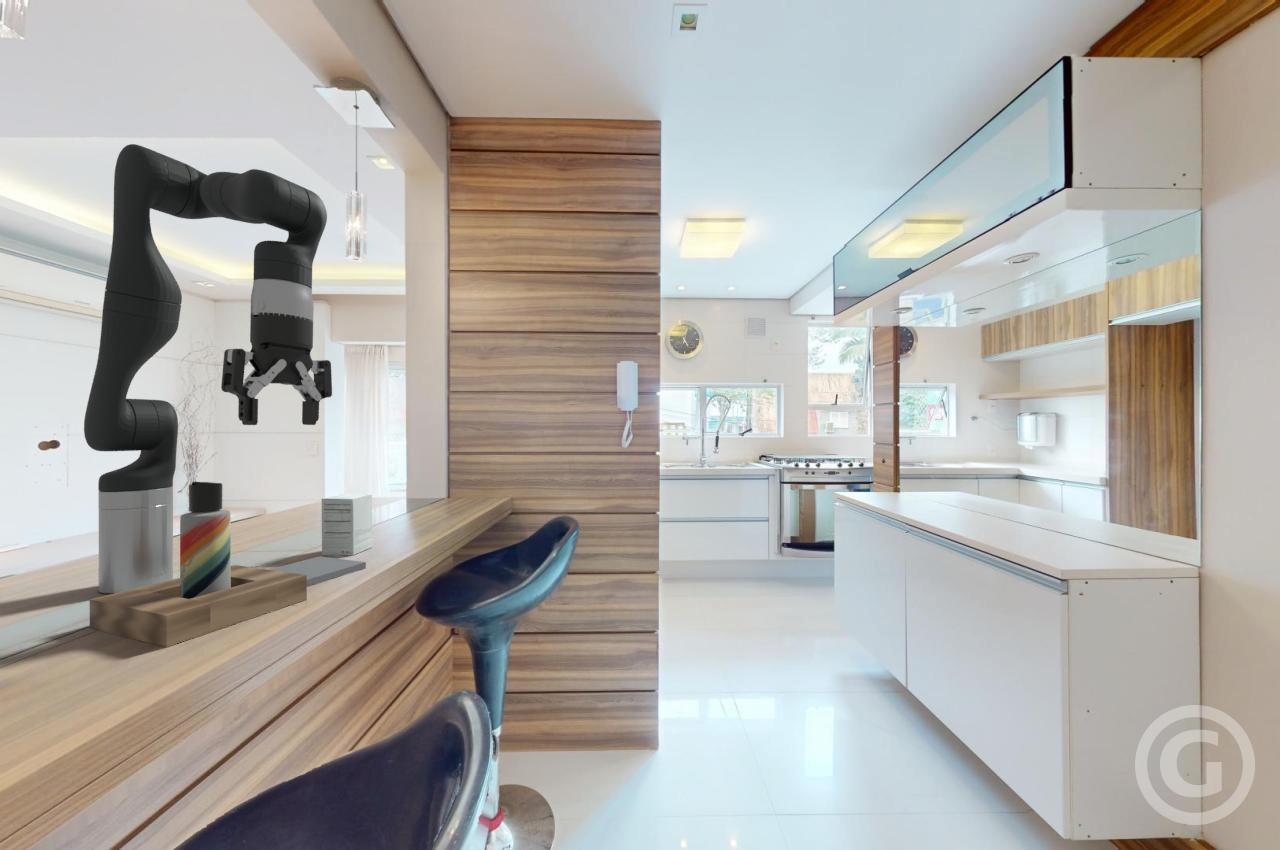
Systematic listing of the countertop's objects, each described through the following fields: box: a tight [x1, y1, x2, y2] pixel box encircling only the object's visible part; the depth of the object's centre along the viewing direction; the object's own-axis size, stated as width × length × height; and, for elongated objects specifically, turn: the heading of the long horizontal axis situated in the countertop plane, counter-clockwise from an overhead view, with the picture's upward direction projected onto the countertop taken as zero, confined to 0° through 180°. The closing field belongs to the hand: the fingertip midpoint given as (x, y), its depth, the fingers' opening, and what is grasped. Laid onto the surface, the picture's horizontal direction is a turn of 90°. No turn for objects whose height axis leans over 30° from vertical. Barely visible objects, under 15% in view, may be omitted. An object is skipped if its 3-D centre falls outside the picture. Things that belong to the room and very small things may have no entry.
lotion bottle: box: [179, 481, 232, 599], centre depth 73 cm, size 6×6×20 cm
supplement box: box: [320, 493, 373, 556], centre depth 110 cm, size 7×7×13 cm
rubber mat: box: [268, 556, 367, 587], centre depth 93 cm, size 13×13×1 cm
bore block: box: [89, 564, 308, 648], centre depth 73 cm, size 18×18×4 cm
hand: (280, 424), depth 72 cm, fingers open, 8 cm apart
